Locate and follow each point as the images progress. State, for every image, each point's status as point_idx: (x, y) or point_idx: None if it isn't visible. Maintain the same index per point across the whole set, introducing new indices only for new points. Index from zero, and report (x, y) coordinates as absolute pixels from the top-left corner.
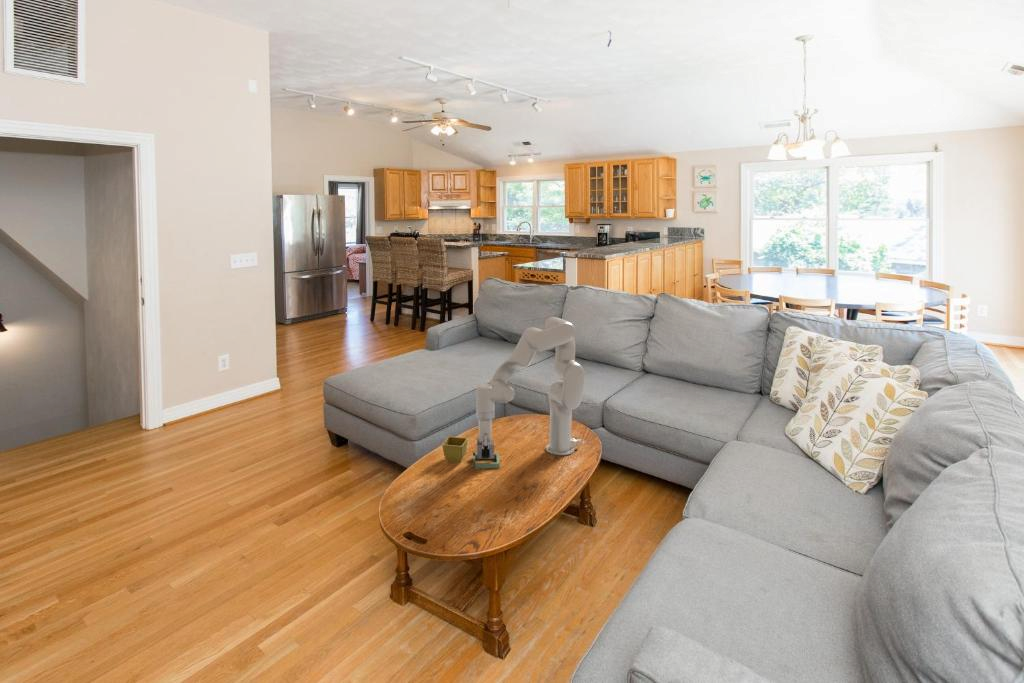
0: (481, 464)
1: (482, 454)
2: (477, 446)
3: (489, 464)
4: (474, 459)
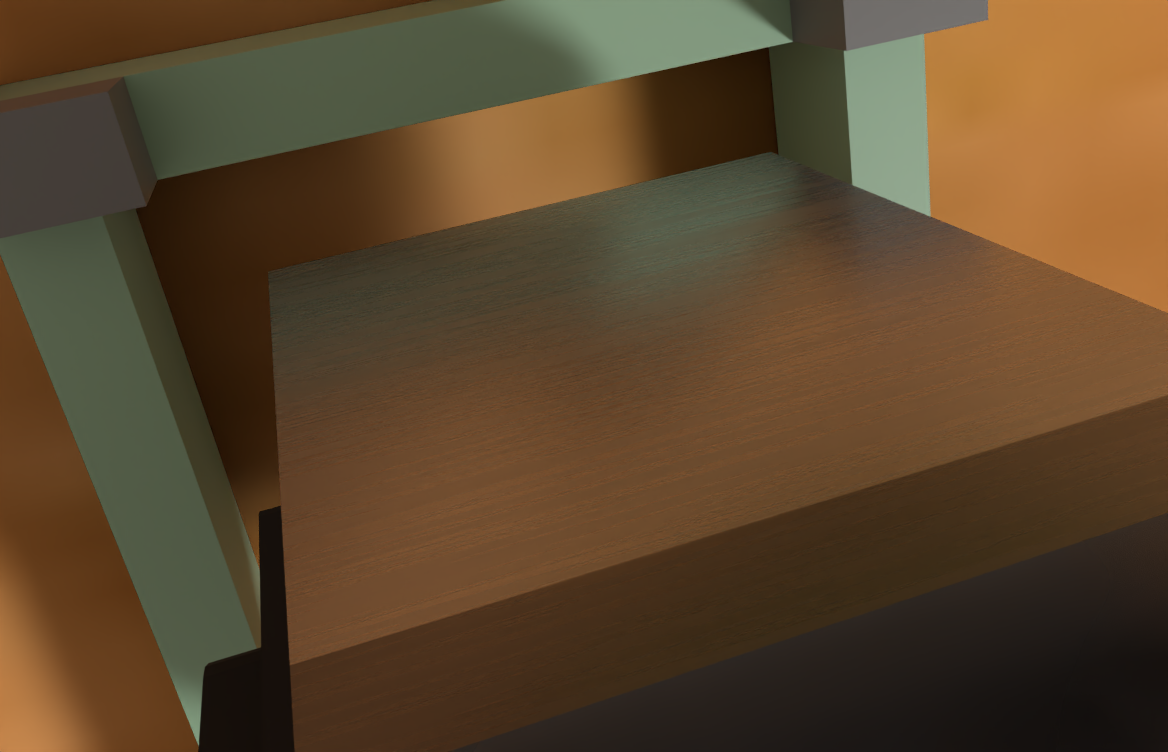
0: (80, 440)
1: (272, 611)
2: (293, 614)
3: (184, 675)
4: (434, 82)
